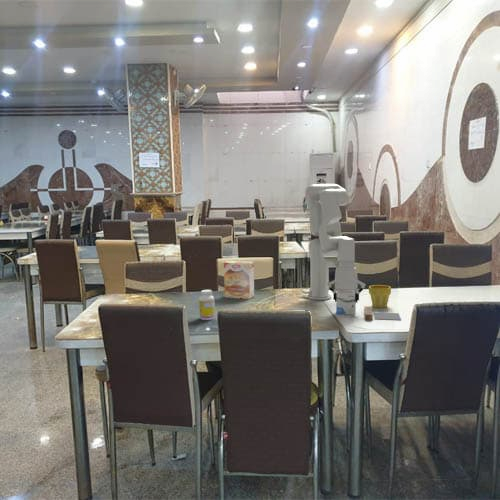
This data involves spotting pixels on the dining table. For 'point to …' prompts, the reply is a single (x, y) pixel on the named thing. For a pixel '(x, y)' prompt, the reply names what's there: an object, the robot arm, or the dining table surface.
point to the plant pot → (379, 295)
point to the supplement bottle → (207, 305)
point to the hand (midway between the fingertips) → (346, 301)
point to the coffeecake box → (239, 279)
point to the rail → (368, 313)
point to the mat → (387, 316)
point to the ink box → (346, 302)
